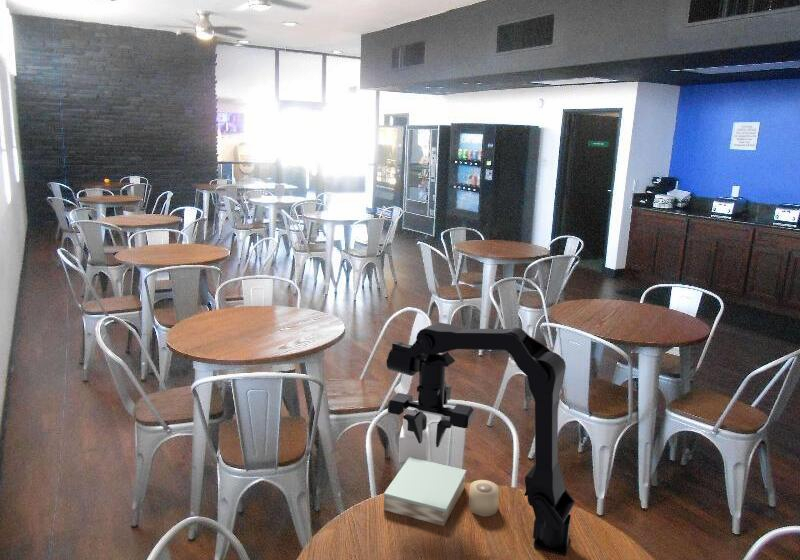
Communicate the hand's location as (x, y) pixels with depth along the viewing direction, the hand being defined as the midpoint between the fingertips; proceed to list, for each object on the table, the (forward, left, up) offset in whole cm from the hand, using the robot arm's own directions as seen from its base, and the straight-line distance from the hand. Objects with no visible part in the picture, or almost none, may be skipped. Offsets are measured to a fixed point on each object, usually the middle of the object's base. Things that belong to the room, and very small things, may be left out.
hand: (429, 444), depth 134 cm
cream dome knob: (-13, -1, -13) cm, 18 cm away
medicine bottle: (+9, -15, -13) cm, 22 cm away
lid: (0, +1, -10) cm, 10 cm away
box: (0, +1, -13) cm, 13 cm away
